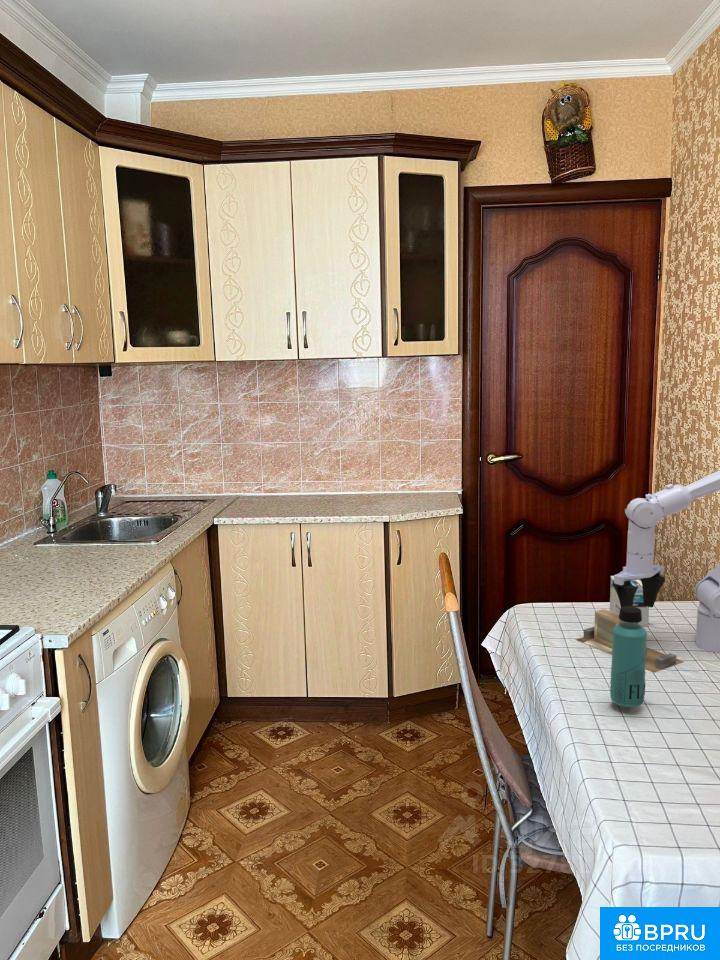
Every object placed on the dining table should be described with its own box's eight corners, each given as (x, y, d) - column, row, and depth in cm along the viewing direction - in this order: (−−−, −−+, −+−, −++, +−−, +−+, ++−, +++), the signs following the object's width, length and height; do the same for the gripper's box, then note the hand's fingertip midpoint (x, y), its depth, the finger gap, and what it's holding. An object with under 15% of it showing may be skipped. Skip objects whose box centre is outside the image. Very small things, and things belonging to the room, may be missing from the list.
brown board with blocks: (604, 633, 185) (604, 622, 185) (684, 665, 167) (684, 653, 166) (575, 642, 180) (575, 631, 179) (654, 676, 161) (654, 663, 161)
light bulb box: (649, 630, 187) (651, 588, 185) (621, 630, 187) (623, 588, 185) (634, 614, 198) (636, 574, 196) (608, 615, 198) (609, 575, 196)
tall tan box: (602, 637, 181) (603, 608, 180) (626, 646, 175) (628, 617, 174) (593, 639, 179) (594, 611, 178) (617, 649, 174) (619, 620, 172)
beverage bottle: (627, 717, 144) (632, 616, 140) (601, 703, 150) (605, 606, 146) (652, 709, 147) (657, 610, 143) (625, 696, 153) (630, 600, 149)
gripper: (646, 543, 179) (643, 598, 182) (604, 552, 172) (601, 610, 174) (672, 549, 173) (669, 607, 176) (629, 560, 166) (627, 619, 168)
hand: (637, 609), depth 175 cm, fingers open, 7 cm apart
